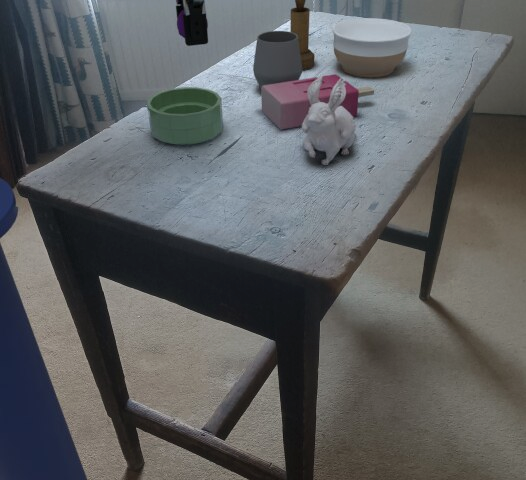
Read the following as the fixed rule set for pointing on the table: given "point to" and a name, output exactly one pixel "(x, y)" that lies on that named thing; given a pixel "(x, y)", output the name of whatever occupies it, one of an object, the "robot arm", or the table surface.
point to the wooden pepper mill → (302, 33)
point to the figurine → (328, 122)
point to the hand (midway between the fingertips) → (193, 37)
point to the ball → (180, 22)
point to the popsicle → (304, 99)
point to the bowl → (370, 45)
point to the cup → (277, 58)
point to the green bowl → (185, 115)
